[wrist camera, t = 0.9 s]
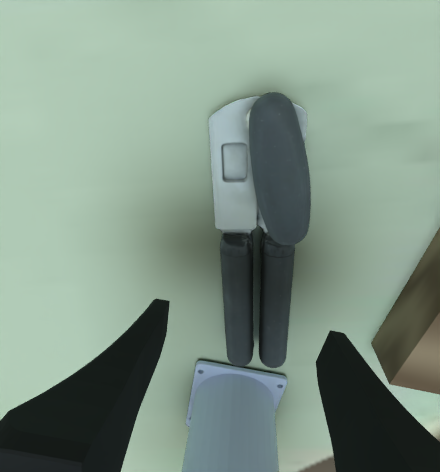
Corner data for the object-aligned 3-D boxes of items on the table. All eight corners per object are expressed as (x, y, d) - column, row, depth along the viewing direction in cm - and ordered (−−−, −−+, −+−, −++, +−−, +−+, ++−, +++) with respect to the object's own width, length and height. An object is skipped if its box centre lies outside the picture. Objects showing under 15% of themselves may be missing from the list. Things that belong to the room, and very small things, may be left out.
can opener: (210, 91, 17) (190, 100, 11) (304, 87, 16) (331, 93, 11) (225, 340, 26) (217, 414, 20) (286, 342, 25) (296, 419, 20)
